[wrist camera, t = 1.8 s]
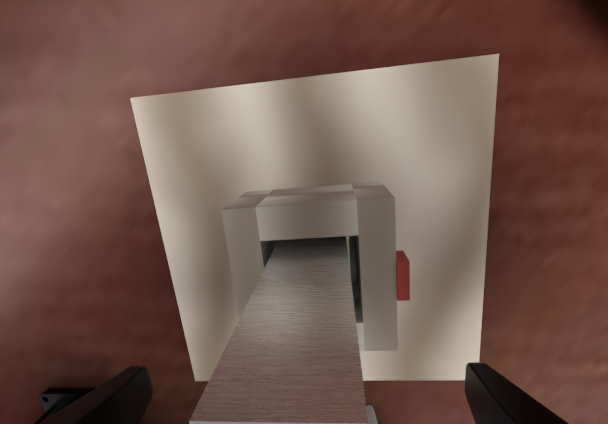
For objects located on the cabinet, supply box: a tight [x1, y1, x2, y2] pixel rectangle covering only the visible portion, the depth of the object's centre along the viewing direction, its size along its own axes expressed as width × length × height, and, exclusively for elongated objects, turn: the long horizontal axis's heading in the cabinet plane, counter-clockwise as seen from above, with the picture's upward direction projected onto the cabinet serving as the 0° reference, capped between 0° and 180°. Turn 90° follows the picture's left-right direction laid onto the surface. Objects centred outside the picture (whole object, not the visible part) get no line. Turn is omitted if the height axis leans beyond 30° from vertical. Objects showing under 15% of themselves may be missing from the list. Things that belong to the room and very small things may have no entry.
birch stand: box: [130, 54, 499, 381], centre depth 16 cm, size 18×18×5 cm
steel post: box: [189, 236, 368, 424], centre depth 11 cm, size 4×4×12 cm
